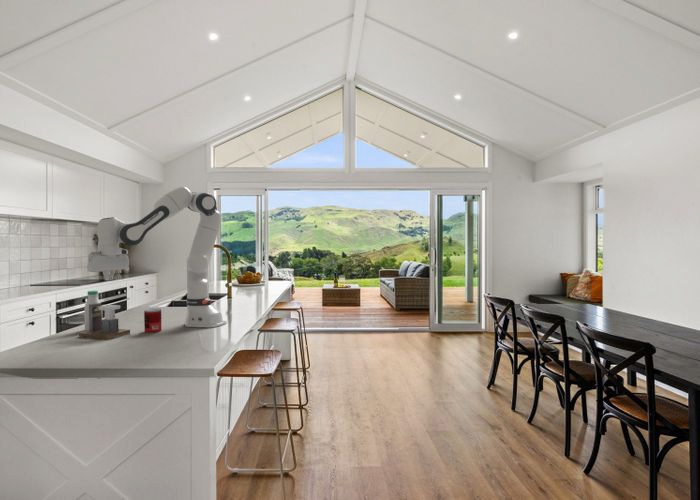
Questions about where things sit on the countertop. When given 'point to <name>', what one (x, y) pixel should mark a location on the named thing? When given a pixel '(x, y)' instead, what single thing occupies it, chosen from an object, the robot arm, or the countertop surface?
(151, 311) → the canned food
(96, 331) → the stand
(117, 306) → the plunger
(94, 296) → the milk bottle
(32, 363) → the countertop surface
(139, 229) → the robot arm
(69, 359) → the countertop surface
